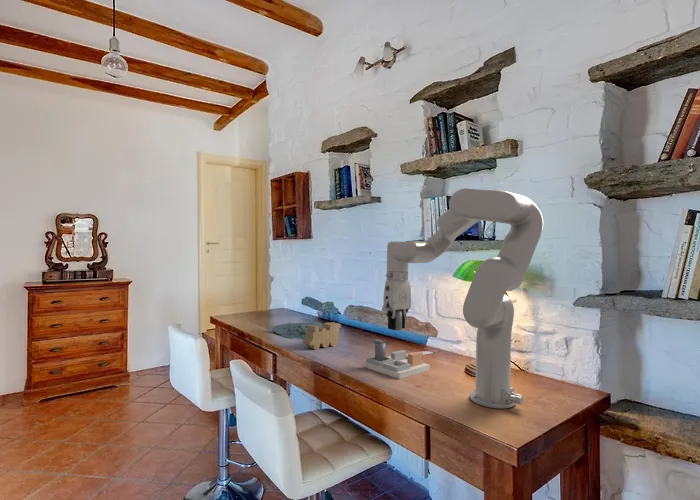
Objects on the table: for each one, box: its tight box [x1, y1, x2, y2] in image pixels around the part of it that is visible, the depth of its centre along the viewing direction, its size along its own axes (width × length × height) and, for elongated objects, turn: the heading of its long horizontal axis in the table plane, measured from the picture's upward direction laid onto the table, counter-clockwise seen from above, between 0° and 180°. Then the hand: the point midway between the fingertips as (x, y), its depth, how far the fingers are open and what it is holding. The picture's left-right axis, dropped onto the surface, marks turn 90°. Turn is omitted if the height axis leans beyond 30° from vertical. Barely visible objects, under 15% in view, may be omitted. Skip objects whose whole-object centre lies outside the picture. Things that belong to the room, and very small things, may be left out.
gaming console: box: [404, 347, 441, 357], centre depth 169 cm, size 22×1×10 cm
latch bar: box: [407, 350, 424, 366], centre depth 145 cm, size 2×6×4 cm, turn 130°
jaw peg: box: [390, 308, 403, 331], centre depth 141 cm, size 5×4×8 cm
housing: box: [365, 339, 431, 380], centre depth 146 cm, size 17×16×10 cm
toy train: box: [302, 321, 342, 351], centre depth 178 cm, size 6×17×10 cm, turn 130°
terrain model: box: [269, 321, 323, 341], centre depth 207 cm, size 26×28×5 cm
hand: (396, 327), depth 140 cm, fingers closed on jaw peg, 4 cm apart
